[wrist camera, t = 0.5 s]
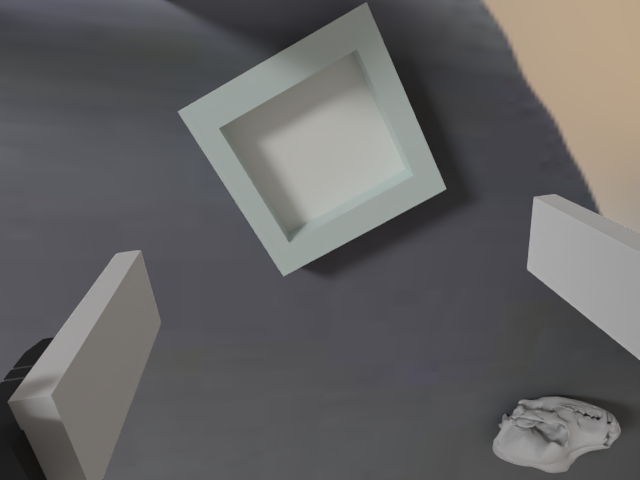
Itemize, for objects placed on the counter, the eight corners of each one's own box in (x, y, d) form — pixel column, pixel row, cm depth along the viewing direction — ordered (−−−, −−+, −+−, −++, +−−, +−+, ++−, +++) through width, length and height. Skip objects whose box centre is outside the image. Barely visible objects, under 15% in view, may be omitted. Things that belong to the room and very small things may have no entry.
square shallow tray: (185, 107, 37) (177, 111, 34) (357, 7, 36) (366, 1, 32) (282, 260, 43) (283, 276, 40) (432, 179, 42) (446, 189, 38)
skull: (480, 430, 50) (604, 455, 42) (503, 375, 56) (615, 387, 48) (500, 479, 53) (620, 511, 45) (519, 421, 59) (629, 440, 50)
